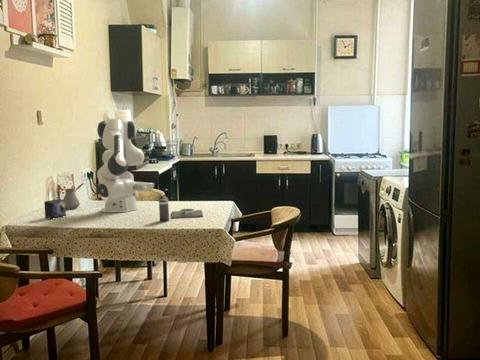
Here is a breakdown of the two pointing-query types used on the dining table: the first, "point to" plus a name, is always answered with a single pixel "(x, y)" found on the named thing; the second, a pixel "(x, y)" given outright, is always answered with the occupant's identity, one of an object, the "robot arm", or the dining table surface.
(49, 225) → the dining table surface
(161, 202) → the grey peg
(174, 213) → the mount plate
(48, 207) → the small box
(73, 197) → the coffee pot
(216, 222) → the dining table surface
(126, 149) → the robot arm
